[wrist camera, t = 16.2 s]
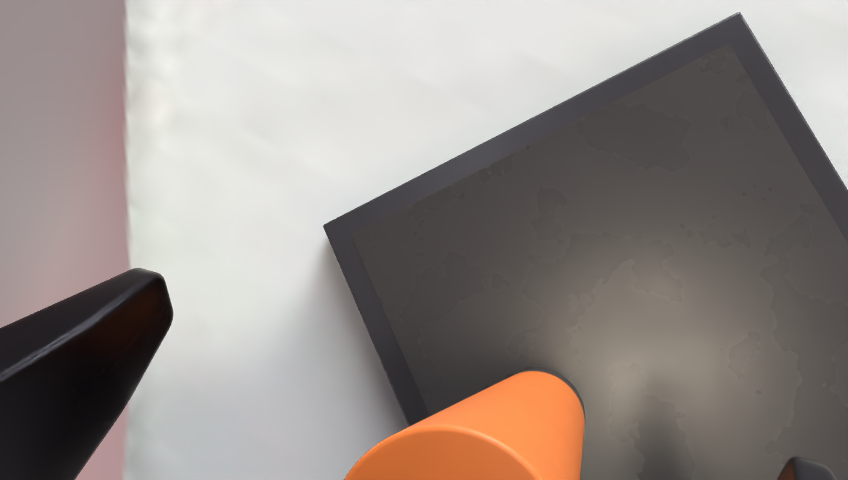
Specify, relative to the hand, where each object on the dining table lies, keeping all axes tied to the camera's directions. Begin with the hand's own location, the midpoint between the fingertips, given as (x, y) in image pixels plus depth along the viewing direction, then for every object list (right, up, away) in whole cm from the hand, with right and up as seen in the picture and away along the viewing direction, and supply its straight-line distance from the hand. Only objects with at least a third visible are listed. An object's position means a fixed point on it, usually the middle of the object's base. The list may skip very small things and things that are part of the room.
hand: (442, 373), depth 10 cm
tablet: (+7, -4, +9) cm, 12 cm away
